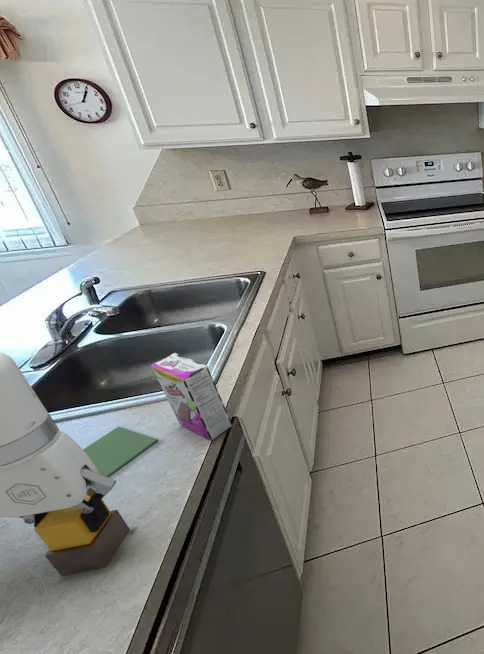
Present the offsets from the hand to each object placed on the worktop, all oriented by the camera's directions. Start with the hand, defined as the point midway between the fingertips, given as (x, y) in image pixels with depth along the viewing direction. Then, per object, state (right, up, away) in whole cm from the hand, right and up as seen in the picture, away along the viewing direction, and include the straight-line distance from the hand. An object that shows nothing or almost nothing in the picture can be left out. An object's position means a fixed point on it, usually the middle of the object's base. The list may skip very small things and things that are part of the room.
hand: (79, 526), depth 62 cm
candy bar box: (0, +6, +26) cm, 27 cm away
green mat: (-15, +2, +20) cm, 25 cm away
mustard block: (0, -1, 0) cm, 1 cm away
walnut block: (0, -6, +3) cm, 6 cm away
